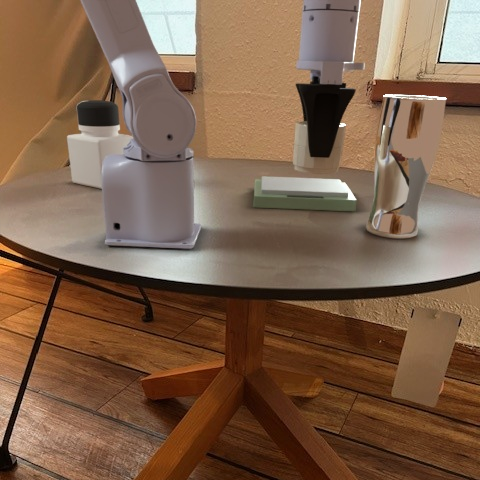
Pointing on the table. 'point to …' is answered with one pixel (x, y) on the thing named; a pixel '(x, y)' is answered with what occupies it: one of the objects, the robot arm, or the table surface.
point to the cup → (316, 164)
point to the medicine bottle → (94, 141)
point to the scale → (303, 194)
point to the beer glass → (403, 161)
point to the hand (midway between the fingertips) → (317, 152)
